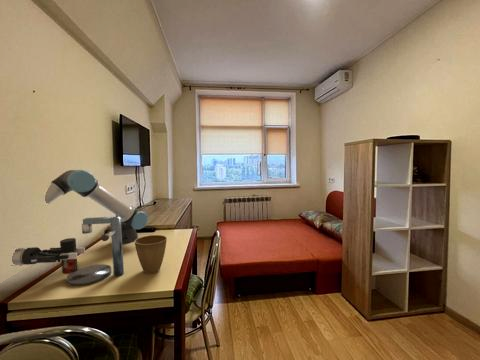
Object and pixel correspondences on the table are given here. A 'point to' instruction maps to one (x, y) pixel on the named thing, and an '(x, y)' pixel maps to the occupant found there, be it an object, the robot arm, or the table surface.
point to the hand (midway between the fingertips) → (80, 253)
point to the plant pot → (151, 252)
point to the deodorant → (68, 247)
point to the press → (101, 270)
